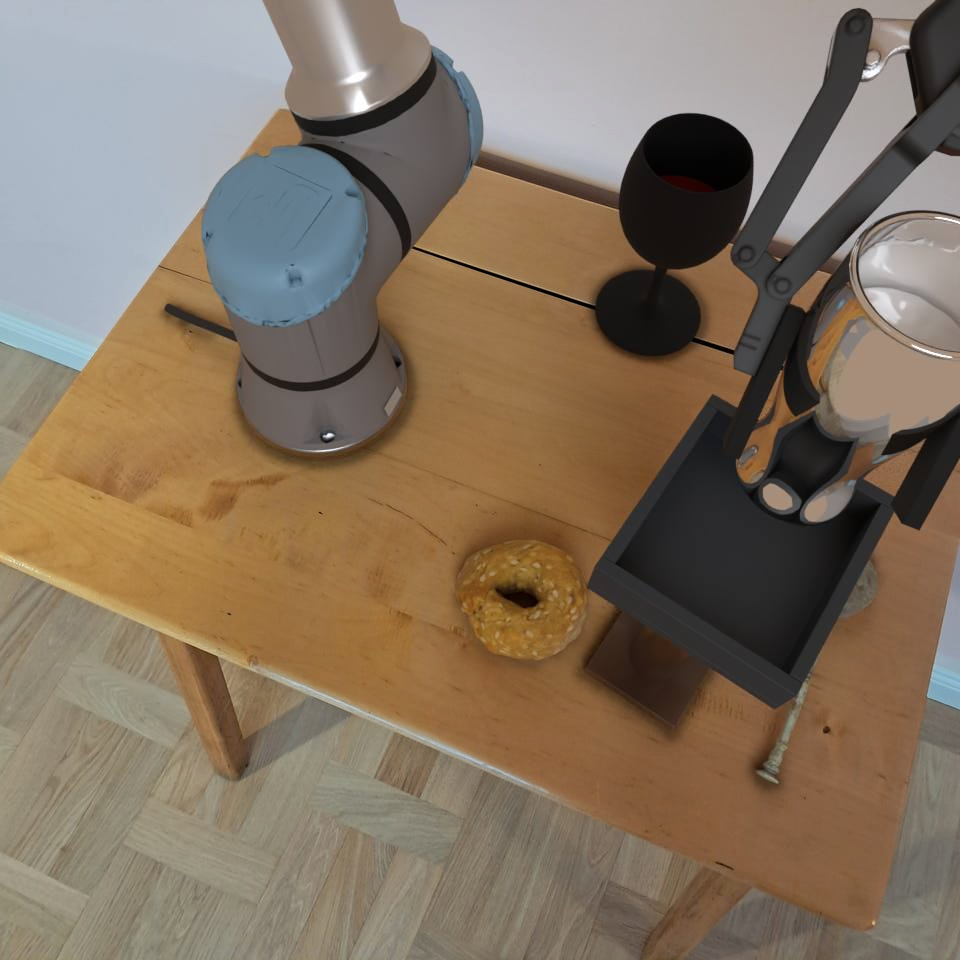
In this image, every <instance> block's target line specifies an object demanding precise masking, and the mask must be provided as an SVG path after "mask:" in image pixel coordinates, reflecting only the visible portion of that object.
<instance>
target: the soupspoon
mask: <svg viewBox="0 0 960 960" xmlns="http://www.w3.org/2000/svg"><path fill="white" fill-rule="evenodd" d="M878 587H879V577H878V573H877V570H876V568H875V566H874V564H873V563H872V560H870V559H869V561H868V563H867V565H866V566H865V568H864V570H863V572H862V574H861V576H860V578H859V580H858V582H857V583H856V585H855V587H854V589H853V591H852V593H851V595H850V597H849V598H848V600H847V602H846V604H845V606H844V608H843V610H842V612H841V614H840V615H839V617H838V619H846V618H848V617H852V616H854V615H856V614H857V613H860V612H861V611H863V610H864V609H866V608H867V607H868V606H869V605H870V604H871V603H873V601H874V599H875V597H877V596H876V595H877V592H878ZM820 654H821V652H820V653H819V655H818V657H817V659H816V661H815V663H814V664H813V666H812V668H811V670H810V672H809V674H808V676H807V678H806V680H805V681H804V683H803V685H802V687H801V689H800V691H799V693H798V695H797V696H796V697H794V698H793V699H792V701H791V705H790V708H789V710H788V713H787V716H786V719H785V722H784V725H783V727H782V731H781V734H780V736H779V738H777V739H776V740H774V743H775V747H774V748H773V749H772V750H771V751H770V752H769V754H768V756H767V761H765V762H764V763H763V764H762V766H763V769H756V770H755V771H754V772H755V773H756V774H757V775H758V776H760V777H762V778H764V779H766V780H767V781H769V782H772V783H774V784H776V785H778V784H779V781H778V780H777V778H776V777H775V775H777V774H779V773H780V772H779V771H780V769H779V766H781V763H782V761H783V758H784V751H785V750H787V749H788V742H789V739H790V737H791V734H792V733H793V730H794V727H795V724H796V722H797V720H798V718H799V714H800V711H801V709H802V706H803V703H804V700H805V698H806V696H807V695H806V694H807V691H808V689H809V686H810V683H811V680H812V677H813V674H814V671H815V668H816V665H817V662H818V660H819V657H820Z"/></svg>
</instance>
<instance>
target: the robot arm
mask: <svg viewBox="0 0 960 960" xmlns="http://www.w3.org/2000/svg"><path fill="white" fill-rule="evenodd" d="M261 1H262V4H263V6H264V7H265V10H266V11H267V14H268V16H269V18H270V21H271V23H272V25H273V27H274V30H275V32H276V34H277V36H278V38H279V40H280V42H281V44H282V47H283V50H284V52H285V54H286V56H287V58H288V60H289V62H290V64H291V67H292V68H291V71H290V73H289V75H288V78H287V81H286V83H285V88H284V100H285V101H286V104H287V107H288V108H289V111H290V113H291V115H292V117H293V120H294V122H295V123H296V125H297V128H298V130H299V132H300V134H301V140H300V141H299V142H298V144H297V145H295V144H294V145H293V144H291V145H278V146H273V147H270V152H269V155H264V156H262V155H260V154H259V153H258V152H255V153H252V154H250V155H248V156H246V157H245V158H243V159H241V160H240V161H238V162H237V163H236V164H234V165H233V166H231V167H230V168H229V169H228V170H227V171H226V172H225V173H224V174H223V175H222V176H221V177H220V178H219V180H218V181H217V182H216V183H215V185H214V187H213V188H212V190H211V192H210V193H209V195H208V197H207V200H206V203H205V205H204V208H203V211H202V216H201V225H200V234H201V244H202V247H203V252H204V255H205V260H206V268H207V272H208V276H209V279H210V282H211V284H212V287H213V290H214V292H215V293H216V294H217V296H218V297H219V299H220V300H221V303H222V306H223V308H224V310H225V313H226V317H227V318H228V321H229V323H230V326H231V328H232V329H231V328H227V327H225V326H223V325H220V324H218V323H215V322H214V321H210V320H208V319H204V318H203V317H200V316H197V315H195V314H192V313H190V312H188V311H185V310H184V309H181V308H179V307H177V306H175V305H173V304H171V303H167V304H165V306H164V309H163V310H164V312H165V313H167V314H169V315H171V316H173V317H176V318H177V319H179V320H181V321H184V322H186V323H188V324H191V325H193V326H196V327H198V328H201V329H203V330H206V331H209V332H211V333H213V334H216V335H219V336H221V337H223V338H226V339H228V340H231V341H233V342H235V343H237V344H238V347H239V349H240V353H239V363H238V366H237V371H236V378H235V379H236V380H235V389H236V398H237V401H238V404H239V406H240V407H239V408H240V410H241V412H242V414H243V416H244V419H245V421H246V423H247V425H248V426H249V428H250V429H251V430H252V432H253V433H254V434H255V435H256V437H257V438H259V439H260V441H262V442H263V443H264V444H266V445H267V446H268V447H269V448H271V449H273V450H275V451H277V452H279V453H282V454H283V455H286V456H288V457H292V458H295V459H300V460H306V461H329V460H331V461H332V460H336V459H341V458H345V457H348V456H352V455H355V454H356V453H359V452H361V451H363V450H365V449H367V448H369V447H370V446H372V445H374V444H375V443H376V442H378V441H379V440H380V439H381V438H382V437H384V436H385V435H386V434H387V433H388V432H389V431H390V429H392V427H393V426H394V424H395V423H396V421H397V420H398V419H399V416H400V414H401V413H402V410H403V409H404V406H405V402H406V398H407V393H408V392H407V390H408V379H407V368H406V362H405V358H404V355H403V353H402V350H401V349H400V346H399V345H398V343H397V342H396V340H395V339H394V337H393V336H392V334H391V333H390V332H389V330H387V328H386V327H385V325H384V323H382V321H381V320H380V319H379V311H378V303H377V302H378V301H377V298H378V296H379V293H380V291H381V290H382V288H383V287H384V286H385V284H386V283H387V282H388V280H389V279H390V277H391V276H392V275H393V273H394V272H395V271H396V269H397V268H398V267H399V265H400V264H401V263H402V261H403V260H404V259H405V258H406V256H408V254H409V253H410V251H411V250H412V249H413V248H414V247H415V246H416V244H417V243H418V241H419V240H420V239H421V238H422V237H423V235H424V234H425V233H426V231H427V230H428V229H429V228H430V226H431V225H432V224H433V223H434V221H435V220H436V219H437V218H438V216H439V215H440V214H441V213H442V211H443V210H444V209H445V208H446V206H447V205H448V204H449V202H451V200H452V199H453V198H454V197H455V196H456V195H457V194H458V193H459V191H460V190H461V188H462V187H463V186H464V185H465V183H466V181H467V179H468V178H469V174H470V172H471V171H472V169H473V167H474V166H475V164H476V162H477V161H478V159H479V156H480V154H481V150H482V146H483V140H484V133H485V132H484V130H485V129H484V119H483V118H484V117H483V111H482V108H481V104H480V100H479V98H478V95H477V93H476V91H475V89H474V86H473V85H472V83H471V81H470V79H469V77H468V76H467V75H466V73H465V72H464V71H463V70H461V71H459V72H458V71H457V70H456V69H455V68H454V67H453V66H454V59H452V58H451V57H450V56H449V55H448V54H447V53H445V52H444V51H443V50H442V49H440V48H438V47H437V46H434V45H432V44H431V43H430V40H429V38H428V37H427V35H426V34H425V33H423V32H422V31H421V30H420V29H417V28H415V27H414V26H411V25H409V24H407V23H405V22H402V20H401V17H400V15H399V12H398V9H397V5H396V3H395V0H261ZM903 54H904V56H905V60H906V66H907V73H908V77H909V81H910V82H909V83H910V87H911V88H910V89H911V93H912V99H913V103H914V109H915V113H916V114H914V116H913V117H911V119H909V120H908V122H907V123H906V124H905V125H904V126H903V127H902V128H901V129H900V130H899V131H898V133H897V134H895V136H894V137H893V138H892V139H891V140H890V141H889V142H888V143H887V145H886V146H885V147H884V149H883V150H882V151H881V152H880V153H879V154H878V155H877V156H876V157H875V158H874V159H873V161H872V162H871V163H869V165H868V166H867V167H866V168H865V169H864V170H863V171H862V172H861V173H860V175H858V176H857V178H856V179H855V180H854V181H853V182H852V183H851V184H850V185H849V186H848V188H846V189H845V191H843V192H842V193H841V195H840V196H839V197H838V198H837V199H836V200H835V201H834V203H833V204H831V206H829V208H828V209H827V210H826V211H825V212H824V213H823V214H822V215H821V216H820V217H819V218H818V219H817V221H815V223H814V224H813V225H812V226H811V227H810V228H809V229H808V230H807V232H805V234H804V235H802V236H801V238H800V239H799V240H798V241H797V242H796V243H795V244H794V245H793V246H792V247H791V248H790V249H789V251H787V253H786V254H785V255H783V257H782V258H781V259H780V260H778V259H777V258H776V257H775V256H774V255H772V254H771V253H770V252H769V251H768V250H767V249H768V247H769V246H770V245H771V242H772V240H773V239H774V237H775V235H776V233H777V232H778V230H779V228H780V226H781V225H782V223H783V221H784V219H785V217H786V216H787V214H788V213H789V211H790V209H791V207H792V205H793V204H794V202H795V200H796V198H797V196H798V195H799V193H800V191H801V190H802V188H803V186H804V184H805V183H806V181H807V179H808V177H809V176H810V174H811V172H812V171H813V169H814V167H815V165H816V163H817V162H818V160H819V158H820V157H821V155H822V153H823V151H824V149H825V148H826V146H827V144H828V143H829V141H830V140H831V137H832V136H833V134H834V132H835V130H836V128H837V127H838V125H839V123H840V122H841V120H842V118H843V116H844V114H845V113H846V111H847V109H848V108H849V106H850V104H851V102H852V100H853V98H854V96H855V94H856V92H857V90H858V88H859V86H860V83H868V82H871V81H872V82H873V81H874V80H875V79H877V78H878V77H879V75H881V74H882V72H883V71H884V70H885V68H886V66H887V64H888V61H889V60H890V59H891V58H892V57H895V56H897V55H903ZM934 152H937V153H940V154H943V155H947V156H950V157H960V0H934V1H933V2H931V4H929V5H928V6H927V7H926V8H925V9H923V10H922V12H920V13H919V15H918V16H917V17H916V18H915V19H914V18H913V19H910V18H889V17H873V16H872V14H871V13H870V12H869V11H868V10H867V9H865V8H862V7H856V8H851V9H849V10H848V11H846V12H845V13H844V14H843V15H842V16H841V17H840V19H839V21H838V23H837V25H836V26H835V29H834V31H833V33H832V36H831V39H830V43H829V48H828V53H827V59H826V64H825V68H824V74H823V79H822V85H821V87H820V88H819V90H818V92H817V93H816V96H815V97H814V99H813V101H812V102H811V105H810V106H809V107H808V110H807V112H806V114H805V115H804V117H803V119H802V121H801V123H800V124H799V126H798V128H797V129H796V131H795V133H794V135H793V137H792V139H791V141H790V142H789V145H788V146H787V148H786V150H785V151H784V153H783V155H782V157H781V159H780V161H779V162H778V163H777V166H776V168H775V170H773V173H772V174H771V176H770V177H769V180H768V182H767V183H766V186H765V187H764V189H763V191H762V193H761V195H760V196H759V197H758V200H757V202H756V204H755V205H754V207H753V208H752V211H751V212H750V214H749V215H748V218H747V220H746V222H745V223H744V225H743V227H742V229H741V231H740V232H739V234H738V235H737V238H736V239H735V241H734V243H733V245H732V247H731V249H730V253H729V254H730V261H731V263H732V265H733V266H734V267H736V268H737V269H738V270H739V271H740V272H742V273H743V274H744V275H745V276H746V277H747V278H749V279H750V280H751V281H752V282H753V283H754V284H755V286H756V289H757V296H756V300H755V302H754V305H753V306H752V308H751V309H752V310H751V312H750V314H749V316H748V318H747V320H746V323H745V325H744V327H743V329H742V332H741V334H740V337H739V339H738V341H737V344H736V345H735V348H734V350H733V366H732V367H733V370H735V371H738V372H740V373H743V374H746V375H748V376H751V377H750V378H749V381H748V383H747V385H746V387H745V390H744V391H743V394H742V396H741V398H740V401H739V402H738V405H737V406H736V407H737V410H736V412H735V414H734V416H733V418H732V421H731V423H730V425H729V427H728V429H727V432H726V434H725V436H724V438H723V451H722V453H723V454H725V455H728V456H731V457H733V458H736V459H738V460H740V457H741V455H742V453H743V451H744V449H745V447H746V444H747V442H748V440H749V438H750V436H751V434H752V431H753V429H754V427H755V425H756V423H757V421H758V420H759V418H760V417H761V414H762V412H763V410H764V407H765V405H766V403H767V401H768V399H769V397H770V395H771V392H772V391H773V388H774V387H775V384H776V382H777V379H778V377H779V375H780V373H781V372H782V370H783V367H784V363H785V360H786V358H787V356H788V353H789V351H790V349H791V347H792V345H793V343H794V340H795V338H796V336H797V334H798V332H799V330H800V328H801V325H802V323H803V320H804V318H805V316H806V314H807V313H806V312H807V311H805V309H804V308H803V307H801V306H798V305H795V304H792V303H791V302H792V300H793V298H794V296H795V295H796V294H797V293H798V292H799V291H800V290H801V289H802V288H803V287H804V286H805V284H807V283H808V282H809V280H810V279H812V278H813V276H815V274H816V273H818V271H819V270H820V269H821V268H822V267H823V266H824V265H825V264H826V263H827V262H828V261H829V259H831V257H833V256H834V254H835V253H837V251H838V250H839V249H840V248H841V247H842V246H843V245H844V244H845V243H846V242H847V241H848V240H849V238H851V237H852V236H853V235H854V233H856V231H857V230H858V229H859V228H860V227H861V226H862V225H863V224H864V223H865V222H866V221H867V220H868V219H869V218H870V217H871V216H872V215H873V214H874V213H875V211H876V210H877V209H878V208H879V207H881V205H882V204H883V203H884V202H885V201H886V200H887V199H888V198H889V197H890V196H891V195H892V194H893V193H894V192H895V191H896V190H897V189H898V187H900V185H901V184H902V183H903V182H904V181H905V180H907V178H908V177H909V176H910V175H911V174H912V173H913V172H914V171H915V170H916V169H917V168H918V167H919V166H920V165H921V164H922V163H924V162H925V161H926V160H927V159H928V158H929V157H930V156H931V155H932V154H933V153H934ZM959 461H960V412H959V413H958V414H956V415H955V416H954V417H953V418H952V419H951V420H950V421H949V422H947V423H946V424H945V425H944V426H943V427H942V428H940V429H939V430H937V431H936V432H934V433H933V434H932V435H930V436H929V437H927V438H926V439H924V440H923V443H922V445H921V447H920V449H919V450H918V452H917V454H916V456H915V458H914V459H913V462H912V464H911V465H910V467H909V469H908V471H907V473H906V475H905V476H904V478H903V480H902V481H901V484H900V486H899V487H898V489H897V491H896V493H895V494H894V496H895V497H894V499H893V501H892V502H891V506H892V508H893V510H894V514H895V515H896V517H897V518H898V520H899V522H900V524H902V525H904V526H906V527H909V528H912V529H914V530H916V531H921V529H922V527H923V525H924V524H925V521H926V520H927V518H928V516H929V515H930V513H931V511H932V509H933V507H934V505H935V504H936V502H937V500H938V499H939V496H940V494H941V493H942V491H943V490H944V487H945V486H946V485H947V483H948V481H949V479H950V477H951V475H952V474H953V471H954V469H956V466H957V465H958V463H959Z"/></svg>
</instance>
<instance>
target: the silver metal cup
mask: <svg viewBox="0 0 960 960" xmlns="http://www.w3.org/2000/svg"><path fill="white" fill-rule="evenodd" d="M805 312H806V313H807V314H806V316H805V318H804V320H803V323H802V325H801V328H800V330H799V332H798V334H797V336H796V338H795V340H794V343H793V345H792V347H791V349H790V351H789V353H788V356H787V358H786V360H785V362H784V364H783V366H782V369H781V372H780V373H781V374H780V377H779V381H778V385H777V388H776V391H775V395H774V397H773V401H772V404H771V406H770V408H769V410H768V412H766V413H765V415H764V416H762V417H761V418H760V419H758V420H759V421H758V422H757V423H756V425H755V427H754V429H753V431H752V434H751V436H750V438H749V440H748V442H747V444H746V447H745V449H744V451H743V453H742V455H741V457H740V460H738V459H736V458H735V459H734V469H735V475H736V479H737V482H738V484H739V486H740V488H741V490H742V492H743V494H744V495H745V496H746V498H747V499H748V500H749V501H750V503H751V504H752V505H753V506H754V507H756V508H757V509H758V510H759V511H760V512H762V513H763V514H765V515H766V516H768V517H770V518H772V519H774V520H776V521H778V522H781V523H784V524H788V525H792V526H800V527H809V526H817V525H821V524H824V523H827V522H829V521H831V520H833V519H835V518H836V517H838V516H839V515H841V514H842V513H843V512H844V511H845V510H846V509H847V507H848V506H849V505H850V503H851V502H852V500H853V498H854V497H855V495H856V493H857V491H858V489H859V486H860V484H861V482H862V481H863V479H865V478H866V477H867V476H868V475H869V474H870V473H871V472H873V471H874V470H876V469H877V468H879V467H880V466H882V465H885V464H886V463H887V462H889V461H891V460H893V459H895V458H896V457H899V456H900V455H901V454H903V453H905V452H907V451H908V450H910V449H912V448H913V447H915V446H917V445H919V444H920V443H922V442H924V441H925V439H926V438H927V437H929V436H930V435H932V434H933V433H934V432H936V431H937V430H939V429H940V428H942V427H943V426H944V425H945V424H946V423H947V422H949V421H950V420H951V419H952V418H953V417H954V416H955V415H956V414H958V413H959V412H960V215H957V214H954V213H949V212H944V211H939V210H930V209H912V210H905V211H899V212H895V213H892V214H889V215H886V216H884V217H881V218H880V219H878V220H876V221H874V222H873V223H871V224H870V225H868V226H867V227H866V228H865V229H864V230H863V231H861V233H860V234H859V236H858V237H857V238H856V240H855V242H854V243H853V246H852V247H851V249H850V250H849V251H848V252H847V254H846V255H845V256H844V257H843V259H842V260H841V262H839V264H838V265H837V267H836V268H835V269H834V270H833V272H832V274H830V276H829V277H828V279H827V280H826V281H825V283H824V284H823V286H822V287H821V289H820V290H819V292H818V294H817V295H816V296H815V298H814V299H813V301H812V303H811V304H810V305H809V306H808V309H807V310H806V311H805Z"/></svg>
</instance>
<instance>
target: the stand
mask: <svg viewBox="0 0 960 960" xmlns="http://www.w3.org/2000/svg"><path fill="white" fill-rule="evenodd" d="M710 669H711V668H710V667H708V666H706V665H705V664H703V663H702V662H700V661H699V660H697V659H696V658H694V657H693V656H691V655H690V654H688V653H686V652H685V651H683V650H682V649H680V648H679V647H677V646H676V645H674V644H673V643H671V642H669V641H668V640H666V639H665V638H663V637H662V636H660V635H659V634H657V633H656V632H654V631H653V630H651V629H649V628H648V627H646V626H645V625H643V624H642V623H640V622H639V621H637V620H636V619H634V618H633V617H631V616H629V615H628V614H626V613H625V612H623V611H622V610H621V612H620V613H619V615H618V617H617V619H616V620H615V621H614V623H613V624H612V626H611V627H610V629H609V631H608V632H607V633H606V635H605V637H604V639H603V640H602V642H601V643H600V644H599V646H598V647H597V649H596V650H595V652H594V654H593V655H592V657H591V658H590V660H589V661H588V662H587V664H586V666H585V668H584V669H583V672H584V673H585V674H587V675H588V676H590V677H591V678H593V679H594V680H596V681H598V682H599V683H600V684H601V685H603V686H605V687H606V688H607V689H609V690H611V691H612V692H614V693H615V694H616V695H618V696H619V697H620V698H622V699H624V700H625V701H627V702H628V703H629V704H631V705H633V706H634V707H636V708H637V709H638V710H640V711H642V712H643V713H645V714H646V715H648V716H649V717H650V718H652V719H653V720H655V721H656V722H658V723H659V724H660V725H662V726H664V727H665V728H667V729H668V730H669V731H672V730H674V729H675V728H676V726H677V724H678V722H679V721H680V719H681V718H682V716H683V714H684V712H685V710H686V709H687V707H688V706H689V704H690V702H691V700H692V699H693V697H694V695H695V694H696V692H697V690H698V688H699V687H700V685H701V683H702V682H703V680H704V678H705V676H706V675H707V673H708V671H709V670H710Z"/></svg>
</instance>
